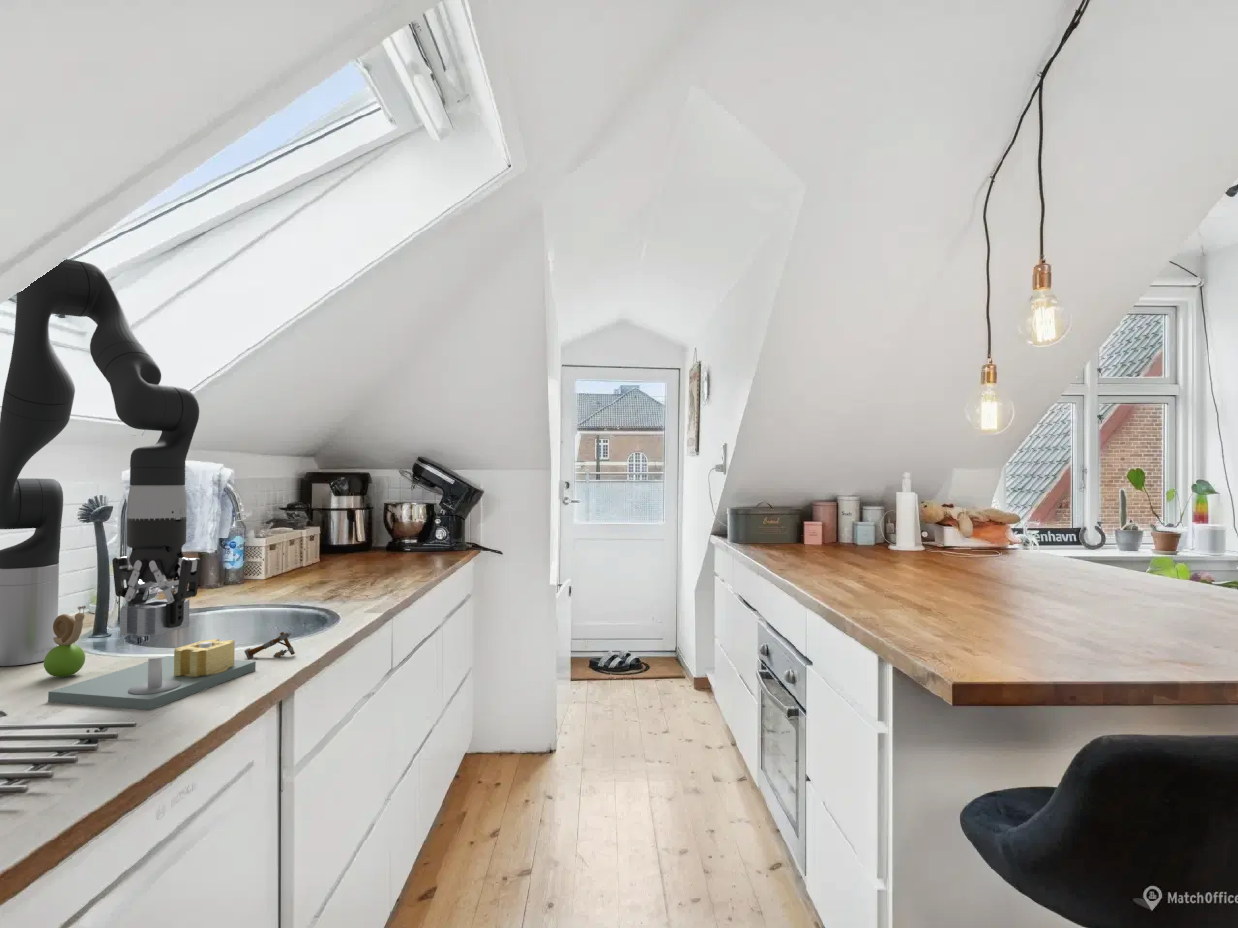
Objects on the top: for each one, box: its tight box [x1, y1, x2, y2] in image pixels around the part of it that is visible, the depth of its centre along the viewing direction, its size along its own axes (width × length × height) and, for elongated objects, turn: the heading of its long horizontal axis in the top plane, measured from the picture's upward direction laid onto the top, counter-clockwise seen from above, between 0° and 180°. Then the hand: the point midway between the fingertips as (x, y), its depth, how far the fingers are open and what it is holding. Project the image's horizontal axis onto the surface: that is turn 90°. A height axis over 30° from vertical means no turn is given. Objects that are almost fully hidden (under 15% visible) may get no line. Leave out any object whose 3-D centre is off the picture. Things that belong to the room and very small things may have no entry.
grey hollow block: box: [119, 598, 190, 637], centre depth 104 cm, size 6×8×4 cm
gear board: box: [47, 642, 256, 711], centre depth 110 cm, size 18×21×6 cm
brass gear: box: [173, 638, 236, 677], centre depth 113 cm, size 6×8×4 cm
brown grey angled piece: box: [243, 631, 296, 660], centre depth 127 cm, size 2×8×5 cm, turn 99°
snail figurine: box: [43, 605, 87, 678], centre depth 114 cm, size 5×6×12 cm
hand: (155, 625), depth 103 cm, fingers closed on grey hollow block, 6 cm apart
